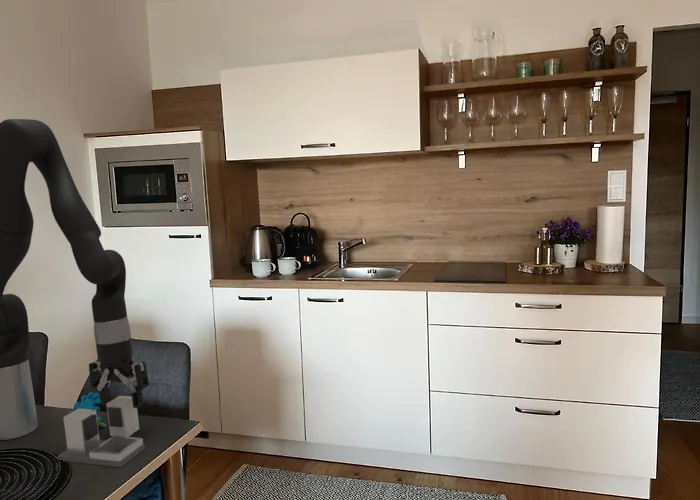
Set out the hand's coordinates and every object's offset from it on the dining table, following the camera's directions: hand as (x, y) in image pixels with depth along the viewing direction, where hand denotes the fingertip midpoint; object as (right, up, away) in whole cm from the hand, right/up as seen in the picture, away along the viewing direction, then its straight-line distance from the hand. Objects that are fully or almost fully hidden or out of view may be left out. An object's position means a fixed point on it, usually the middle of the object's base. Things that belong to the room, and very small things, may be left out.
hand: (122, 405), depth 129 cm
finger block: (0, -7, +1) cm, 7 cm away
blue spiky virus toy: (-11, -7, +6) cm, 14 cm away
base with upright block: (-1, -8, -9) cm, 12 cm away
